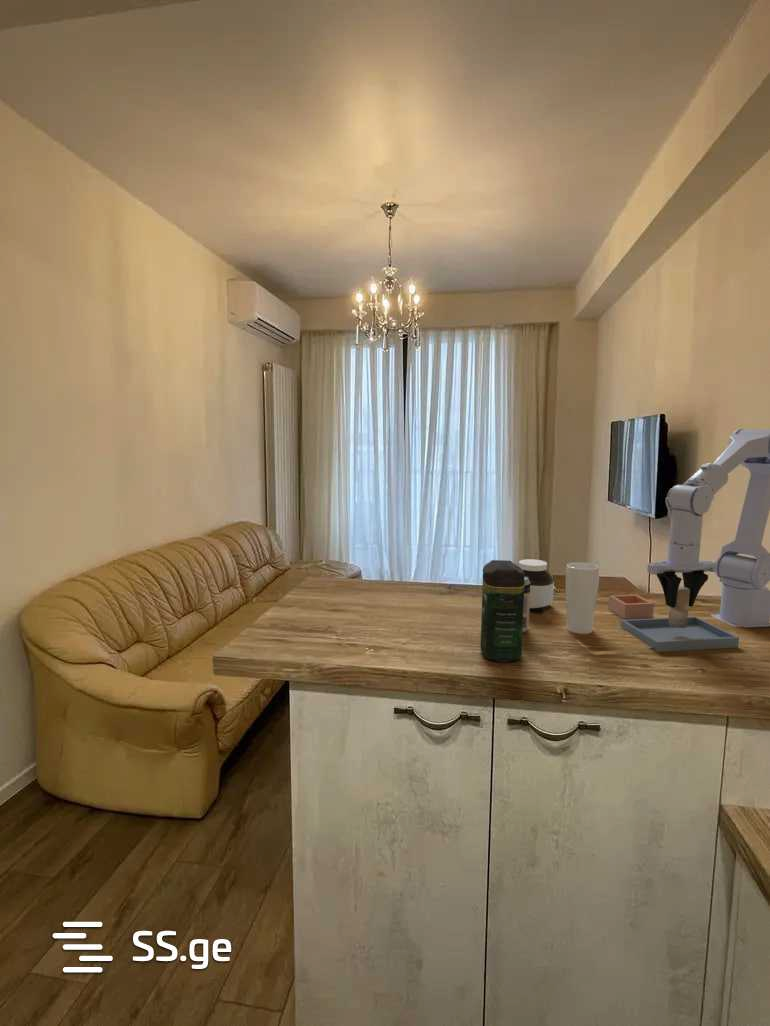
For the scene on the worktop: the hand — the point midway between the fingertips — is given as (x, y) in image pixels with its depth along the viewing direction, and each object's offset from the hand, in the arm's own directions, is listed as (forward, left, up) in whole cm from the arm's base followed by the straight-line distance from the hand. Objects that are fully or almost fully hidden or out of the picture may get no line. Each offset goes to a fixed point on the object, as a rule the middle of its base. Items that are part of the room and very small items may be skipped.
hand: (679, 605), depth 116 cm
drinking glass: (+19, -6, -7) cm, 21 cm away
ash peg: (0, 0, -4) cm, 4 cm away
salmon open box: (+2, -15, -7) cm, 16 cm away
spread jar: (+25, -23, -7) cm, 35 cm away
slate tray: (0, 0, -7) cm, 7 cm away
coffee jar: (+40, +3, -7) cm, 41 cm away
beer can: (+32, -9, -7) cm, 34 cm away
